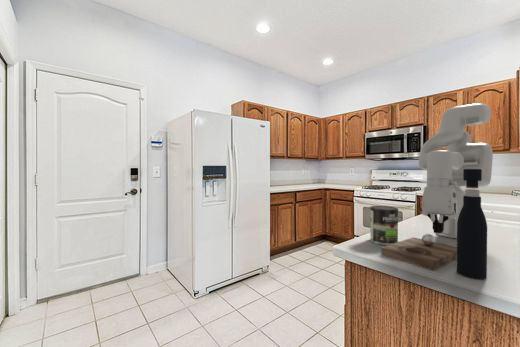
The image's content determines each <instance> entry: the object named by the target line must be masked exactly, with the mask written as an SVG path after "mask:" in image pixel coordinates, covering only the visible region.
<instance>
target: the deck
mask: <svg viewBox="0 0 520 347" xmlns="http://www.w3.org/2000/svg"><path fill="white" fill-rule="evenodd" d="M380 252H381V254H380V255H383V256H386V257H389V258H392V259H395V260H398V261H401V262H404V263H406V264H407V263H408V264H412V265H415V266H417V267H421V268H424V269H427V270H430V271H435V270H437V269H439V268H441V267H443V266H446V265H447V264H449V263H451V262H453V261H456V260H457V246H453V245H449V244H444V243H440V242H437V241H435V244H433V245H431V246H428V245H425V244H424V243H423V241H422V238H417V237H410V238H407V239H403V240H401V241H398V242H397V243H394V244H390V245H383V246H382V247H381V251H380Z"/></svg>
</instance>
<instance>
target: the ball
mask: <svg viewBox="0 0 520 347" xmlns="http://www.w3.org/2000/svg"><path fill="white" fill-rule="evenodd" d="M421 239H422V241H423V243H424V244H425V245H428V246H431V245H433V244H435V242H436V238H435V236H433V234H428V233H427V234H423V235H422V237H421Z"/></svg>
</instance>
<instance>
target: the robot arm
mask: <svg viewBox="0 0 520 347" xmlns="http://www.w3.org/2000/svg"><path fill="white" fill-rule="evenodd" d="M491 117H492V110H491V107H490V106H489V105H488V104H486V103H472V104H464V105H458V106H457V105H456V106H454V107H450V108H447V109H446V110H445V111H444V112H443V113H442V116H441V121H440V125H439V128H438V132H437V133H436V134H434V135H432V136H431V137H430V138H429V139H427V141H425V142H424V143H423V145H422V146H421V149H420V152H419V156H418V166H419V169H421V170H423V171H426V186H425V187H424V190H423V192H422V197H421V210H422V211H421V215H423V216H425V217H428V218H429V220H430V221H431V222H432V230H433V233H435V234H437V236H438V235H439V236H441V237H446V238H451V239H456V240H457V221H458V217H459V214H460V211H461V209H462V207H463V196H465V194H464V193H465V192H464V191H465V190H463V188H462V187H466V181H465V180H463V169H482V181H478V188H484V187H487V186H489V184H490V183H491V180H492V173H493V172H492V171H493V169H492V168H493V158H494V157H493V155H494V154H493V153H494V152H493V148H492V146H491V145H490V144H489V143H486V142H476V143H474V142H473V143H472V136H471V134H470V133H469V132H468V131H466V130H465V128H466V127H469V126H477V125H484V124H488V122H489V121H490V120H491ZM445 147H446V149H445V150H441V149H442V148H445ZM439 149H440V150H439ZM438 215H439V216H438Z"/></svg>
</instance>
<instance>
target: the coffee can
mask: <svg viewBox="0 0 520 347" xmlns="http://www.w3.org/2000/svg"><path fill="white" fill-rule="evenodd" d="M369 208H370V236H369V237H370V242H372V243H374V244H377V245H382V246H387V245H390V244H394V243H397V242H399V240H398V239H399V238H398V236H399V230H398V229H399V207H395V206H386V205H373V206H370V207H369Z"/></svg>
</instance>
